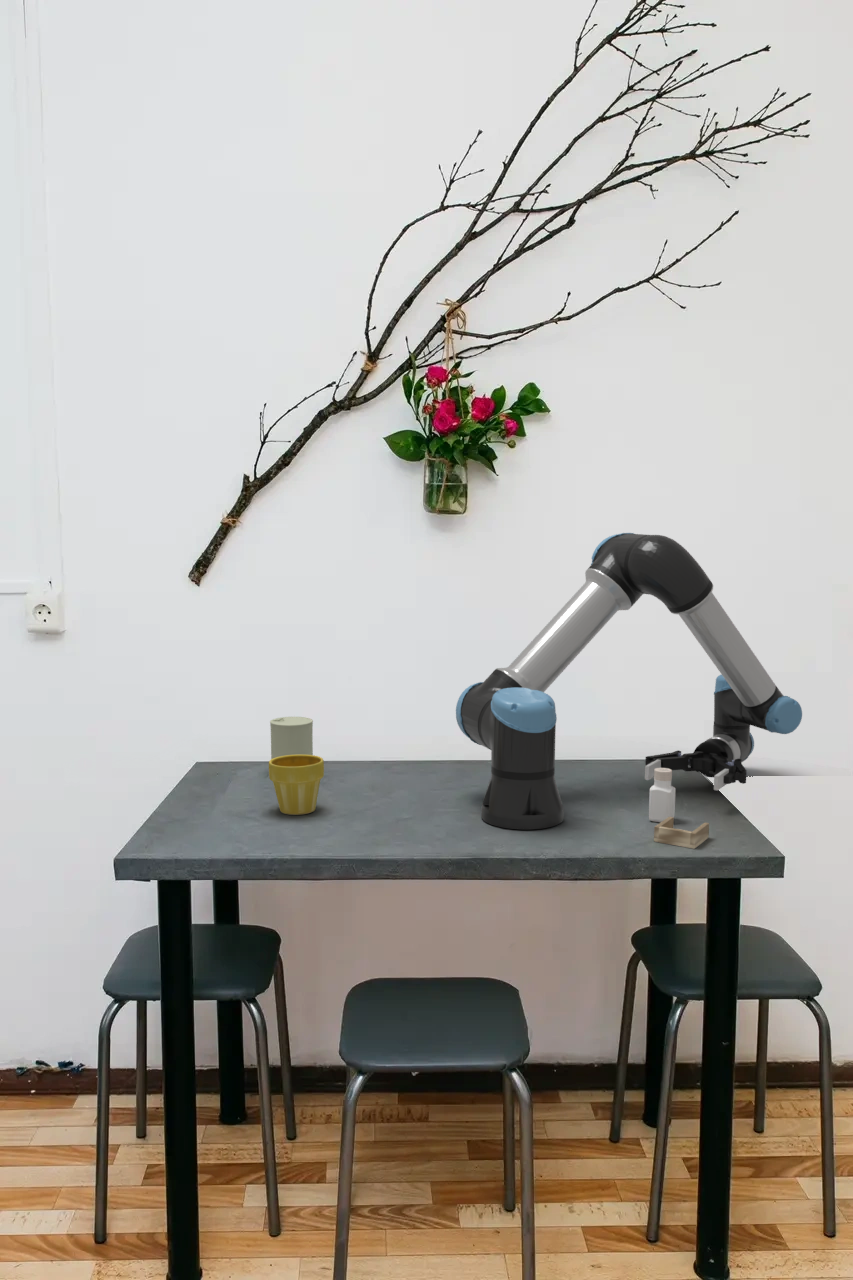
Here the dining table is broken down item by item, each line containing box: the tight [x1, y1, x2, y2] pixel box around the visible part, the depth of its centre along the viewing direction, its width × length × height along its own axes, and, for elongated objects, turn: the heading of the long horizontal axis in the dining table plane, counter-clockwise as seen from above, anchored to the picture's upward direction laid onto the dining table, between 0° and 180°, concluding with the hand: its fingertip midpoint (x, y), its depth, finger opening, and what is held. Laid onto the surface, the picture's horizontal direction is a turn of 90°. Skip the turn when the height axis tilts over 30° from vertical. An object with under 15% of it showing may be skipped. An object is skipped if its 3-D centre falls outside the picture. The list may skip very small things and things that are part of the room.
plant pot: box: [268, 754, 325, 816], centre depth 201 cm, size 10×10×10 cm
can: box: [269, 716, 314, 760], centre depth 229 cm, size 9×9×12 cm
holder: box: [653, 817, 710, 850], centre depth 184 cm, size 7×7×3 cm
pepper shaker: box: [648, 768, 676, 823], centre depth 195 cm, size 4×4×10 cm
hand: (680, 778), depth 202 cm, fingers open, 13 cm apart
